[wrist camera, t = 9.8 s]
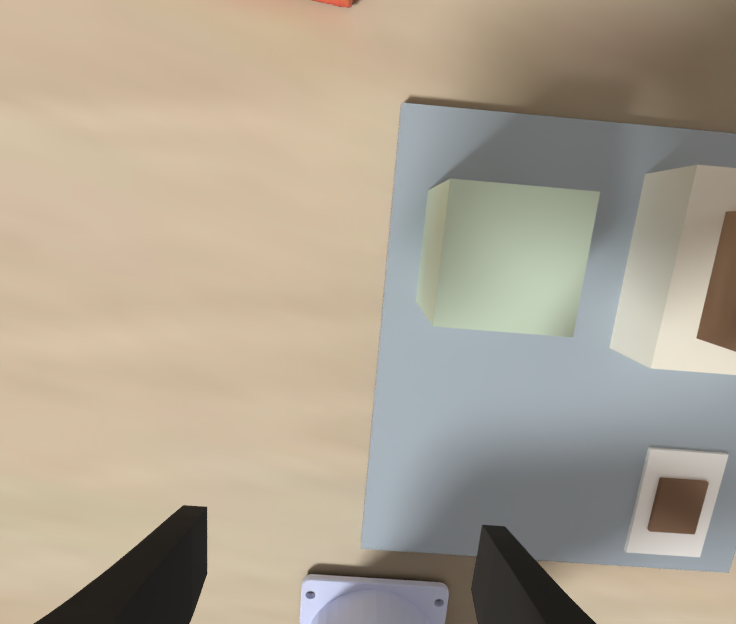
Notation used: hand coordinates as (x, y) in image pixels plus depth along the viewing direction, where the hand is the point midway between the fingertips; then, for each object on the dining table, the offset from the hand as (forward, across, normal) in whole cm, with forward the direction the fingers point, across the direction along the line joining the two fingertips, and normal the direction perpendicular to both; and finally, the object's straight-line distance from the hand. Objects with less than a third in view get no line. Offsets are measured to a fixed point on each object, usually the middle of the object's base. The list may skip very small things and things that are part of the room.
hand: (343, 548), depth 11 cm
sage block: (+10, -5, -7) cm, 13 cm away
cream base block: (+10, -16, -7) cm, 20 cm away
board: (+10, -11, -2) cm, 15 cm away
